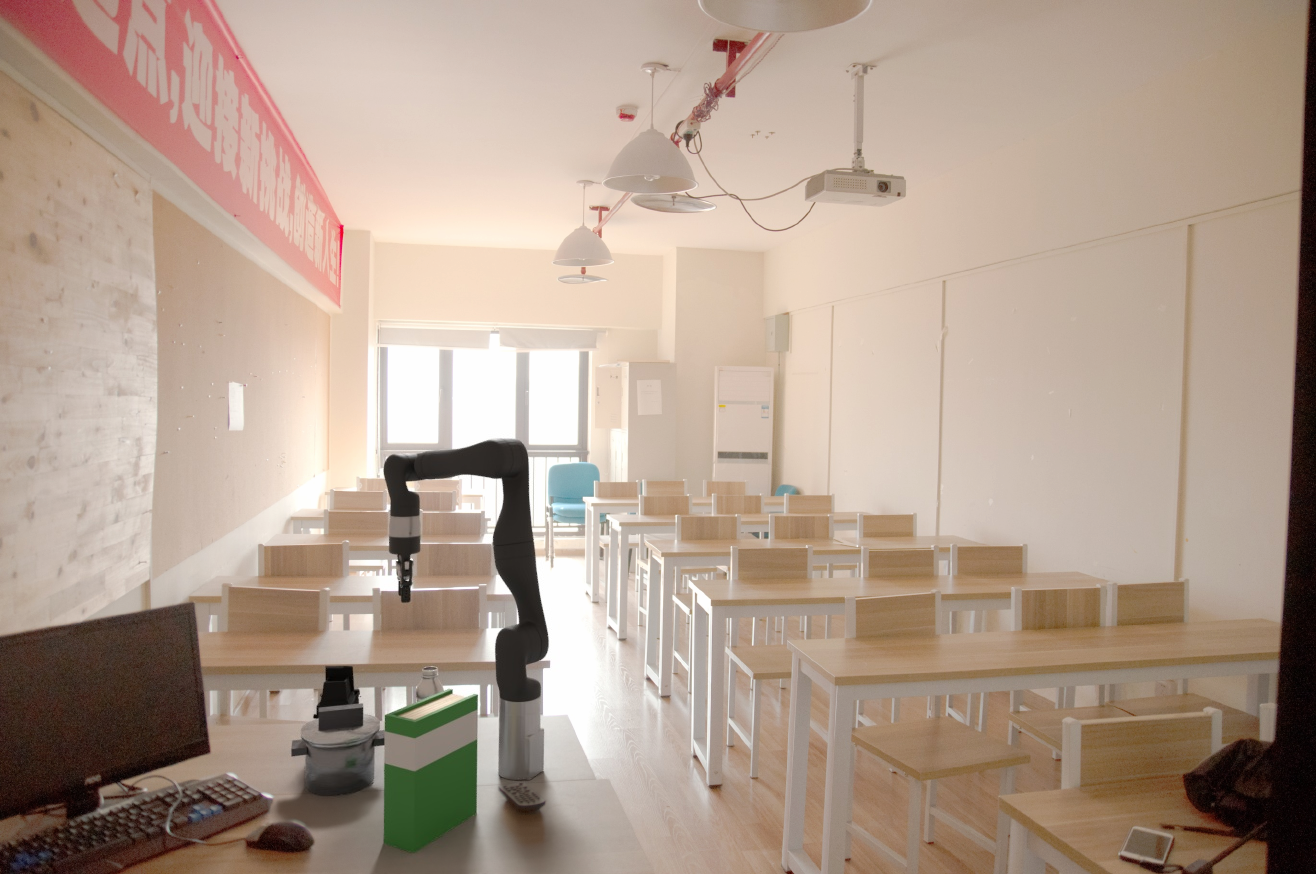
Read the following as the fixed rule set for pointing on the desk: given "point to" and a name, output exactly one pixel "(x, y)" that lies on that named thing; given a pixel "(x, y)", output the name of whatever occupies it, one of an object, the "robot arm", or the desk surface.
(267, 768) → the desk surface
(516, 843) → the desk surface
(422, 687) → the plastic bottle
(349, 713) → the lid
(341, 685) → the camera
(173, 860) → the desk surface
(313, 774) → the pot
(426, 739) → the hardback book
